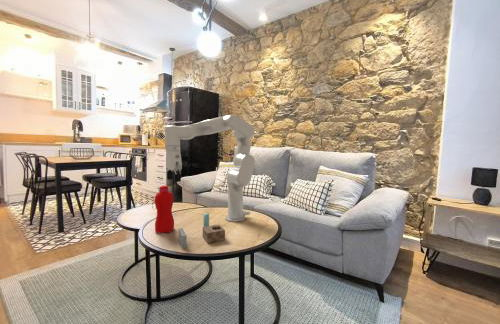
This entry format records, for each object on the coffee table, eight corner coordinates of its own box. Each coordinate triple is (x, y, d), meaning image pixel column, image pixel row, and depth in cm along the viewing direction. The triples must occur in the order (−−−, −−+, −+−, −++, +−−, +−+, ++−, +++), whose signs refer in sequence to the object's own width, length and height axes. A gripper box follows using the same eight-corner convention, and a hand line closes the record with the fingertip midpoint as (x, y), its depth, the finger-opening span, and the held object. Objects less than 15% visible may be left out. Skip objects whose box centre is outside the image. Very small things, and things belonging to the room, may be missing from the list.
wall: (182, 239, 117) (182, 228, 117) (186, 247, 108) (186, 235, 108) (178, 240, 116) (178, 228, 116) (182, 248, 107) (182, 236, 107)
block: (219, 233, 125) (219, 224, 125) (224, 239, 117) (224, 230, 116) (202, 236, 121) (202, 227, 121) (207, 243, 113) (207, 233, 113)
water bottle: (155, 227, 133) (154, 184, 131) (175, 227, 134) (174, 184, 132) (150, 234, 124) (148, 187, 122) (171, 233, 125) (170, 187, 123)
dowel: (208, 230, 129) (208, 213, 129) (209, 232, 127) (209, 214, 126) (202, 231, 128) (202, 213, 127) (204, 233, 125) (204, 215, 125)
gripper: (186, 149, 121) (187, 181, 123) (172, 148, 134) (173, 177, 135) (173, 149, 116) (173, 183, 118) (159, 148, 129) (160, 179, 130)
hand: (173, 180), depth 127 cm, fingers open, 9 cm apart
